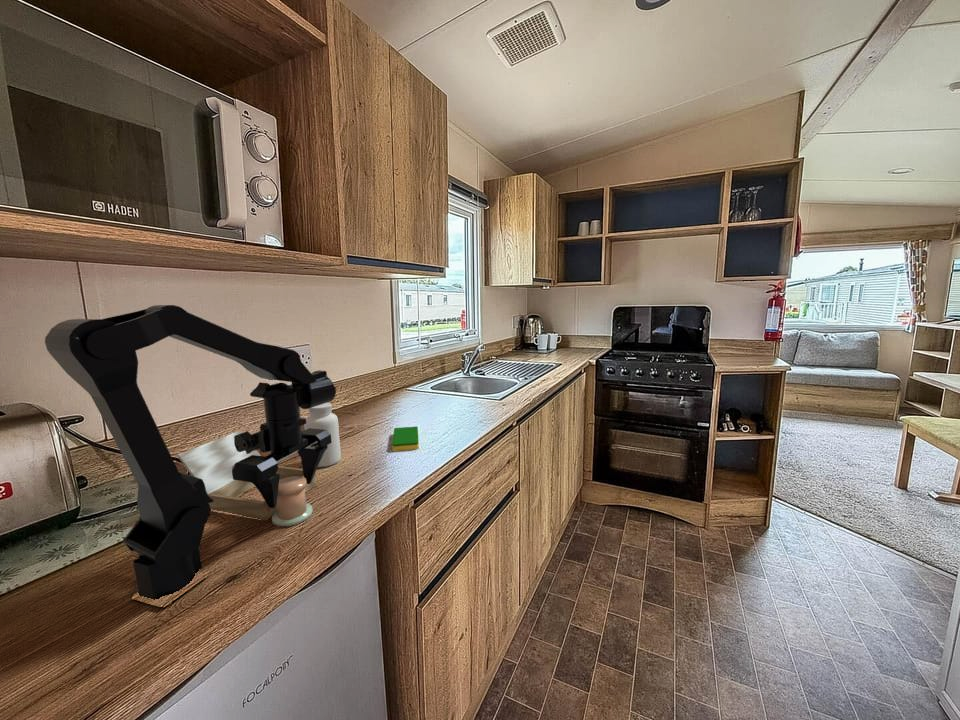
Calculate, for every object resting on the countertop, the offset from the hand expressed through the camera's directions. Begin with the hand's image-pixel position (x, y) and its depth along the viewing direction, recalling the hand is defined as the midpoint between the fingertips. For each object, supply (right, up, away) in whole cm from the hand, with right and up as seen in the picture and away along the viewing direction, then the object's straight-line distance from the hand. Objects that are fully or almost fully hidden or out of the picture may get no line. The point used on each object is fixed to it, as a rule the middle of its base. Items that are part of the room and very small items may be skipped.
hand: (291, 494), depth 73 cm
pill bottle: (-4, -1, +25) cm, 26 cm away
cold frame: (-12, -3, +9) cm, 15 cm away
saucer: (0, -4, +1) cm, 4 cm away
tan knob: (0, -4, 0) cm, 4 cm away
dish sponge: (+14, +1, +39) cm, 41 cm away
